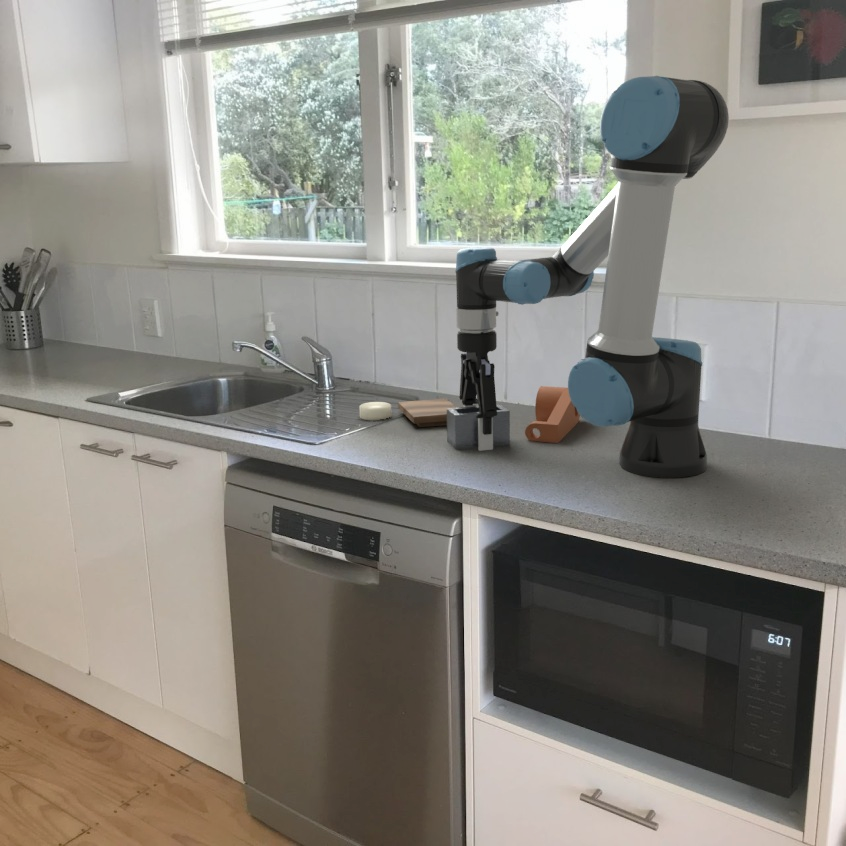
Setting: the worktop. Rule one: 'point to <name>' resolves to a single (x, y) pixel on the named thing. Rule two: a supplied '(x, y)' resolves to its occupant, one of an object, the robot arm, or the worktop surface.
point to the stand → (426, 411)
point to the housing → (475, 427)
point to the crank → (552, 415)
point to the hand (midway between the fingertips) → (477, 443)
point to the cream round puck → (375, 410)
